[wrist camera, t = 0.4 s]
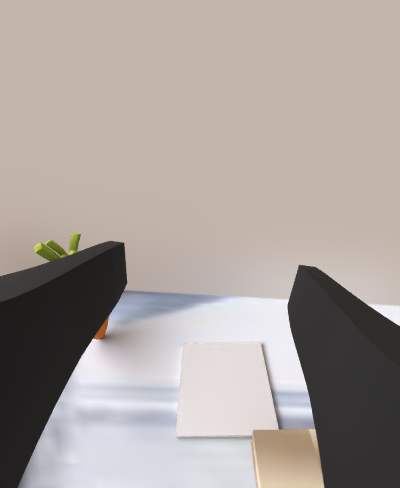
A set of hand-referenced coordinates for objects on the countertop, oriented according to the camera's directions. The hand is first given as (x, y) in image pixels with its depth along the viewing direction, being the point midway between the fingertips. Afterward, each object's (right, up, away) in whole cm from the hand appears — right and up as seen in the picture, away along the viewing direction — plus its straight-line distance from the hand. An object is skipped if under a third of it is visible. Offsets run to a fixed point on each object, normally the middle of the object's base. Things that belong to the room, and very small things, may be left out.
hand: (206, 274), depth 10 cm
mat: (+2, -13, +15) cm, 20 cm away
